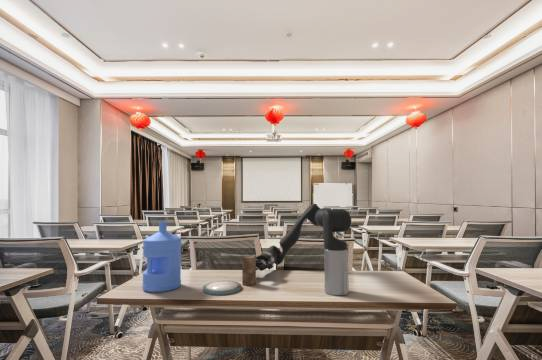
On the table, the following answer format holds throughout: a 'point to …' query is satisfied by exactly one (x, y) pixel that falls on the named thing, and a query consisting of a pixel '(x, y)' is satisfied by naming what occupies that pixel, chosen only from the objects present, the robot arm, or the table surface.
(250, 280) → the walnut block
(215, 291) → the teal dish
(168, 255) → the water jug
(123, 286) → the table surface
